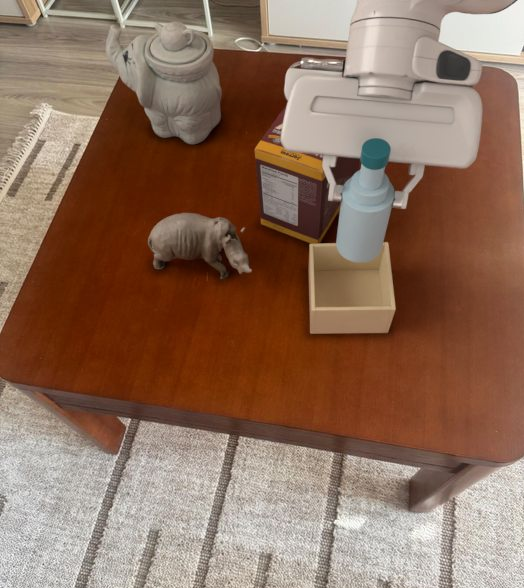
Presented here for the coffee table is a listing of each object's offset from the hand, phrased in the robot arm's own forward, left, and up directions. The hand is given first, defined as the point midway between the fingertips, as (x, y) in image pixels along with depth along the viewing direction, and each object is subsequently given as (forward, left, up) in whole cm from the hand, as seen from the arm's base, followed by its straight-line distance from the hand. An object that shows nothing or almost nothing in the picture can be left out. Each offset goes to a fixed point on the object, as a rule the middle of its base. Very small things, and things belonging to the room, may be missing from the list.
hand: (366, 204), depth 58 cm
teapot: (+29, -40, -22) cm, 54 cm away
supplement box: (+5, -20, -22) cm, 30 cm away
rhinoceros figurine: (+21, -8, -22) cm, 32 cm away
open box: (0, -1, -22) cm, 22 cm away
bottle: (0, -1, -8) cm, 8 cm away
